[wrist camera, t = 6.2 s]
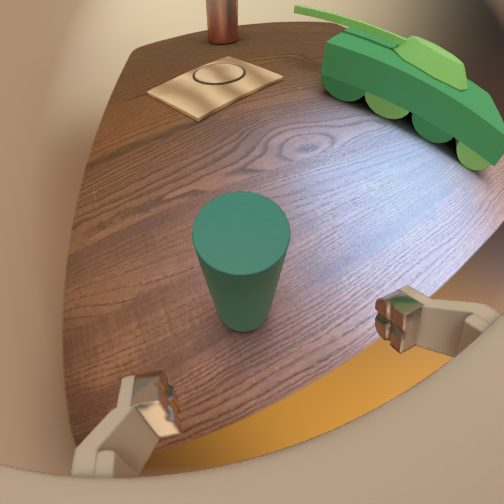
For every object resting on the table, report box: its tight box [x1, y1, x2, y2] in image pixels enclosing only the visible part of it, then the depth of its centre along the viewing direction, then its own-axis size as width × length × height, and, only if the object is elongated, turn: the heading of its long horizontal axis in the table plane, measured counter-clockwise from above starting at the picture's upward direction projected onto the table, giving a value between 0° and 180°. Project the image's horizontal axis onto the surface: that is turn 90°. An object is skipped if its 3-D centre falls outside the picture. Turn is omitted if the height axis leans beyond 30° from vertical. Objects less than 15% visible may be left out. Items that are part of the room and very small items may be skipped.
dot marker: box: [192, 191, 290, 332], centre depth 15 cm, size 4×4×11 cm
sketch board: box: [147, 57, 284, 122], centre depth 34 cm, size 16×12×1 cm
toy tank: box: [294, 5, 504, 170], centre depth 30 cm, size 18×12×35 cm
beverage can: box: [206, 0, 238, 44], centre depth 37 cm, size 6×6×15 cm
